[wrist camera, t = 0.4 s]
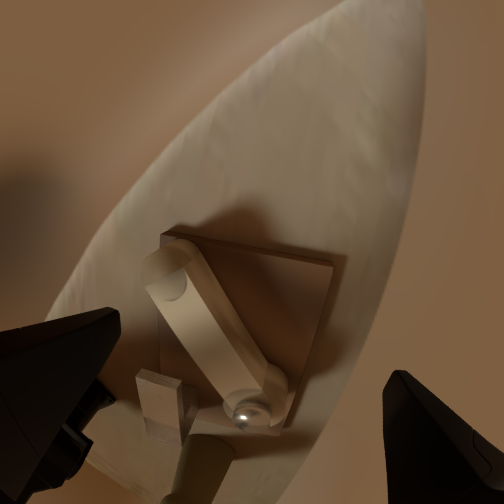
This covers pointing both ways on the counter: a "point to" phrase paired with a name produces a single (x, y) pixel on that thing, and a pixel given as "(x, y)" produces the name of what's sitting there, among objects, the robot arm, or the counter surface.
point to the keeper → (187, 409)
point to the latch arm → (212, 328)
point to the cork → (200, 470)
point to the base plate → (254, 315)
